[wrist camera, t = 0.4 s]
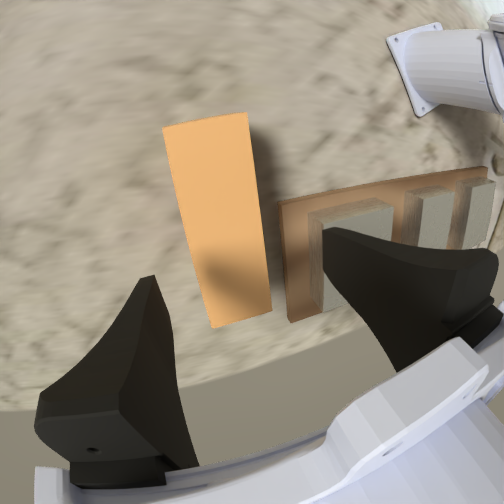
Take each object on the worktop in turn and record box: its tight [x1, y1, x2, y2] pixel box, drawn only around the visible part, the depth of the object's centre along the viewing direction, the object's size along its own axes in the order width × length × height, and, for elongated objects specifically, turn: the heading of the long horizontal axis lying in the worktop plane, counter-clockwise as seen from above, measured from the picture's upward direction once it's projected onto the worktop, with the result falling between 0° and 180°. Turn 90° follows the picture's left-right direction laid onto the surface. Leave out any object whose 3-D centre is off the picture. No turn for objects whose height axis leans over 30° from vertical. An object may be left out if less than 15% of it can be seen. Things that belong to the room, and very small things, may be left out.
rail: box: [307, 176, 496, 313], centre depth 25 cm, size 8×26×2 cm, turn 98°
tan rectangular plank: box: [162, 112, 272, 329], centre depth 17 cm, size 4×12×6 cm, turn 8°
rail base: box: [277, 166, 488, 323], centre depth 27 cm, size 12×30×1 cm, turn 98°
